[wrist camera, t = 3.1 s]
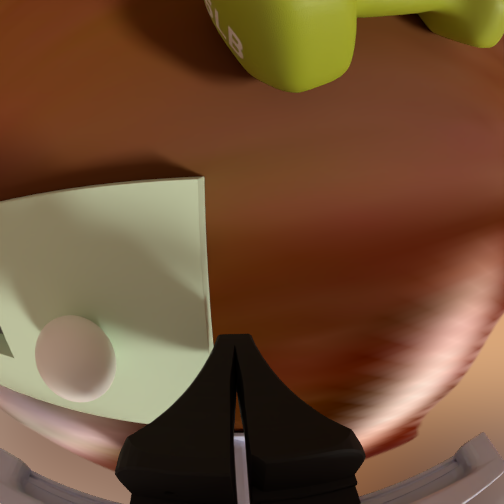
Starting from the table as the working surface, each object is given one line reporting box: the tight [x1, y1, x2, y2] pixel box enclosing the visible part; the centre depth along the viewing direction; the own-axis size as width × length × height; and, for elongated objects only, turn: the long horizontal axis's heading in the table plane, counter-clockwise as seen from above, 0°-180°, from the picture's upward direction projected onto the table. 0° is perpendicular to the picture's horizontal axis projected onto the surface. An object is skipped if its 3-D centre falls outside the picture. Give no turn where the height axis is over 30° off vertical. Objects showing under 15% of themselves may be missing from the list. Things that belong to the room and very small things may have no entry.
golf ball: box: [35, 315, 116, 402], centre depth 10 cm, size 4×4×4 cm
